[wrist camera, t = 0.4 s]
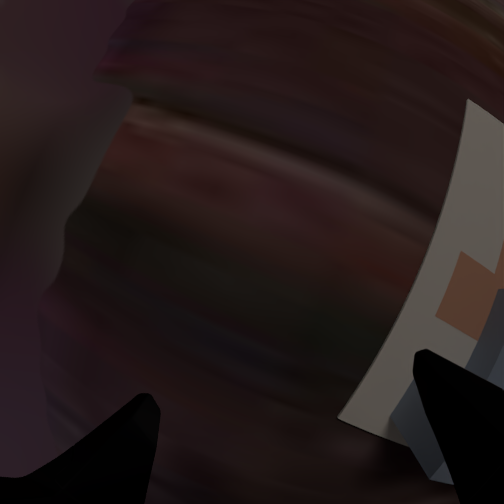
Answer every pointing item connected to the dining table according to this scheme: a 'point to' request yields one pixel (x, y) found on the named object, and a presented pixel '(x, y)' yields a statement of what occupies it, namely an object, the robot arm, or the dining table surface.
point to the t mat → (445, 279)
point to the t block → (480, 363)
